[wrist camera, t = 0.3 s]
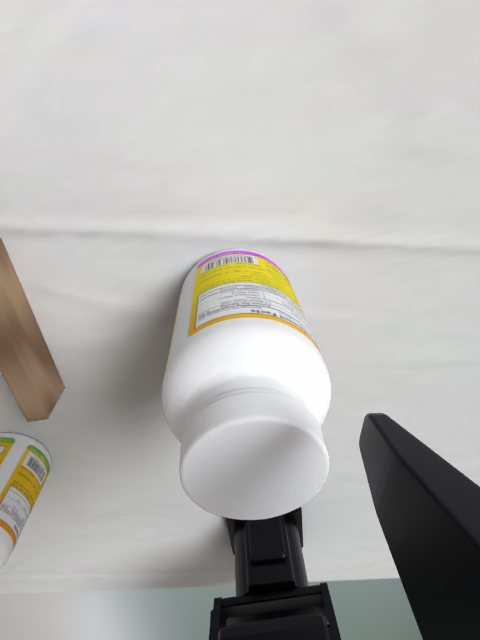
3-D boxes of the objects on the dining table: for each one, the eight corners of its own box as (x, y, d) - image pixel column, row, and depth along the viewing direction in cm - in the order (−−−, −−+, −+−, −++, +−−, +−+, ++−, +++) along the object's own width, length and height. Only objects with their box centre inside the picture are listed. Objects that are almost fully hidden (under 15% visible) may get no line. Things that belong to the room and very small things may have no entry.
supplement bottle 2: (244, 360, 25) (264, 561, 14) (159, 306, 23) (103, 494, 12) (314, 287, 23) (405, 458, 12) (227, 219, 21) (236, 350, 9)
